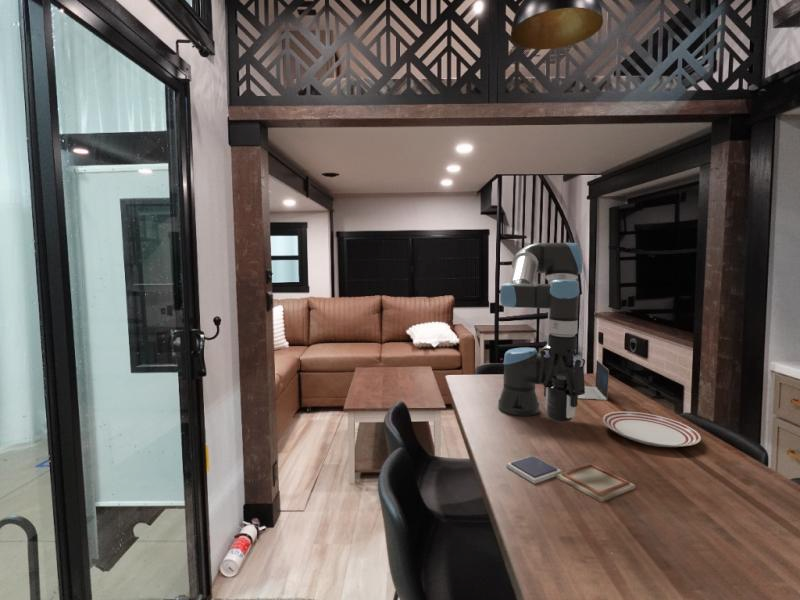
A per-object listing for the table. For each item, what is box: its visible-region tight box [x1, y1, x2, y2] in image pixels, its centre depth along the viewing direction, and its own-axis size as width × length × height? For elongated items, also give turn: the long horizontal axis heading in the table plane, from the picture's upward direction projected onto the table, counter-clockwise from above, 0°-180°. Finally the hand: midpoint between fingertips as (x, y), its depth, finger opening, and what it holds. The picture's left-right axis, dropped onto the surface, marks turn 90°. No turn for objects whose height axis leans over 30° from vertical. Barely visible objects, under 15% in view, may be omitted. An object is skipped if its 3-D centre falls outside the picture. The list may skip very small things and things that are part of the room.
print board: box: [556, 462, 636, 503], centre depth 107 cm, size 13×13×1 cm
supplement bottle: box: [546, 375, 573, 423], centre depth 121 cm, size 7×7×12 cm
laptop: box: [578, 359, 610, 401], centre depth 180 cm, size 18×12×13 cm
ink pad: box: [506, 455, 563, 485], centre depth 113 cm, size 10×10×1 cm
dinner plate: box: [602, 411, 702, 448], centre depth 137 cm, size 28×27×3 cm
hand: (559, 412), depth 122 cm, fingers closed on supplement bottle, 7 cm apart
